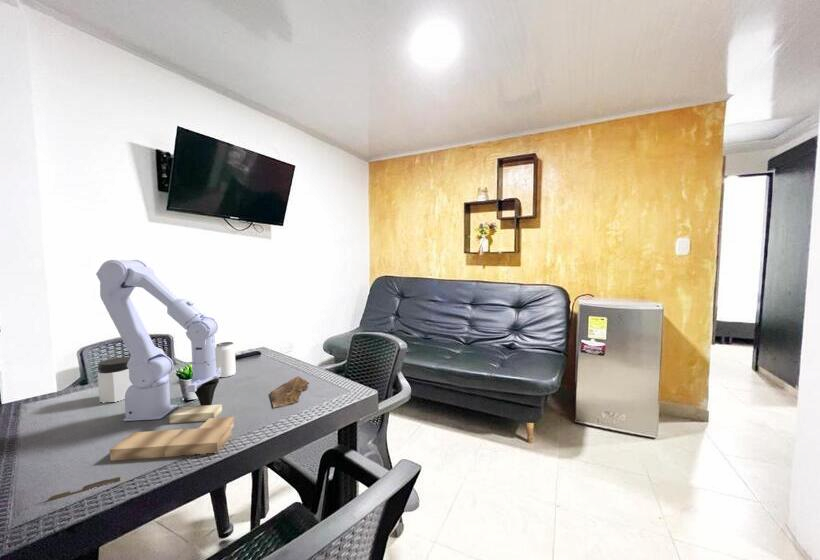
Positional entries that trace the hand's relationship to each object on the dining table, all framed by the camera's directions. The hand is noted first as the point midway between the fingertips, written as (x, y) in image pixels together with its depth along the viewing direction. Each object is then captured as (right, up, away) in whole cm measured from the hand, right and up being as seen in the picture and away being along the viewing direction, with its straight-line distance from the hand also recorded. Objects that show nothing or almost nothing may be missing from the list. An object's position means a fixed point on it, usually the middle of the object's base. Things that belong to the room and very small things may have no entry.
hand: (206, 406), depth 93 cm
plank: (0, -2, -4) cm, 4 cm away
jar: (-34, -1, +9) cm, 35 cm away
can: (-11, 0, +28) cm, 30 cm away
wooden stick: (-3, -4, -32) cm, 32 cm away
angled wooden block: (+4, -2, -16) cm, 17 cm away
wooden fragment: (+19, -1, +14) cm, 23 cm away
